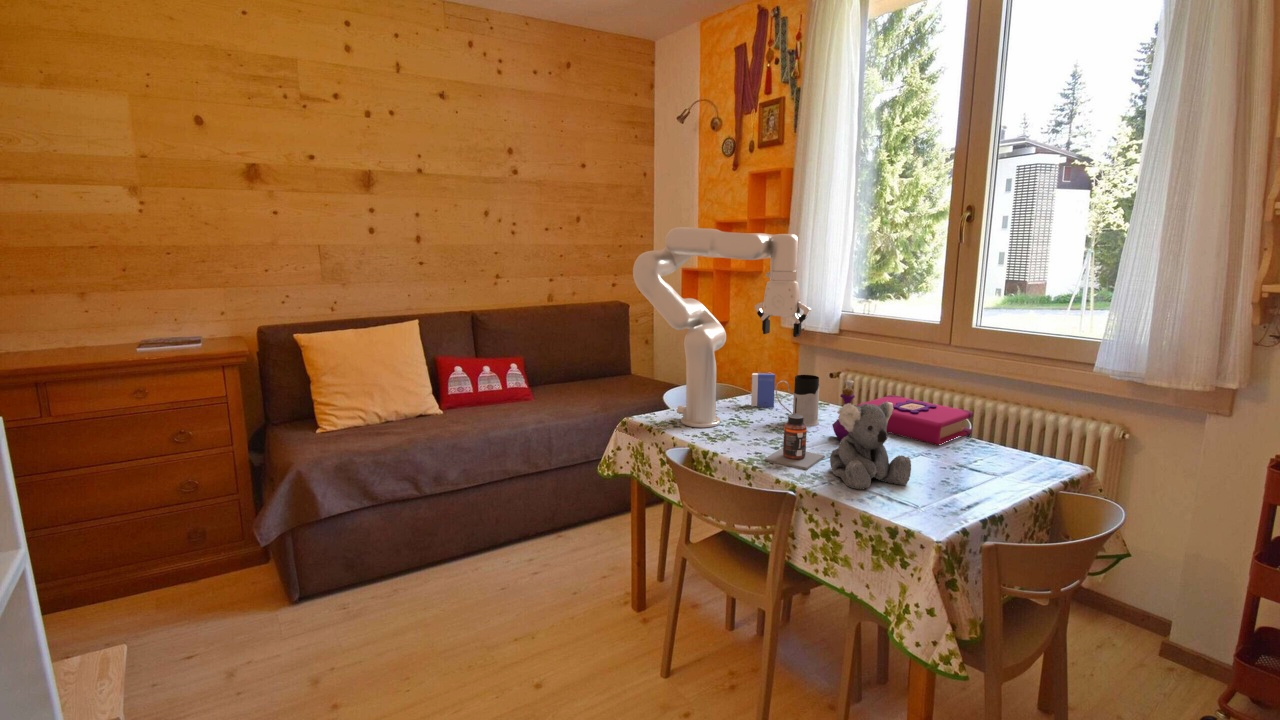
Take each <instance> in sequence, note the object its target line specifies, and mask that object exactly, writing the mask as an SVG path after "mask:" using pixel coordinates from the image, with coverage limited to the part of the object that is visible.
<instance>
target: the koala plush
mask: <svg viewBox="0 0 1280 720" xmlns="http://www.w3.org/2000/svg"><path fill="white" fill-rule="evenodd" d="M893 409H894V408H893V403H890V402H888V401H887V402H883V403H882V404H881V405H879V406H876V405H873V404H869V405H868V404H863V405H860V406H857V404H853V403H852V402H851V403H850V404H849V403H848V404H846V405H844V404H843V405H842V407H839V409H838V411H837V412H836V413H837V414H838V417H837V420H839V422H841V423H840V424H841V425H843V426H844V427H845V429H846V430H847V431H848V433H849V434H848V435H847V436H846V437H844V438H843V439H842V440H841V441H840V443H839V445H838V448H835V449H833V450H832V451H831V454H830V456H829V463H830V464H829V465H830V469H831V472H832V473H833V476H836V477H839V478H841V481H842V482H843V483H844V484H845V486H848V487H850V488H852V489H855V488H856V489H855V490H864V489H863V488H866V489H868V488H869V487H871V484H872V483H871V482H872V479H875V478H876V479H875V480H877V479H878V480H879V481H880V480H882V481H881V482H885V481H886V482H885V483H887V482H888V484H893V483H894V485H896V484H901V485H902V486H904V485H907V484H908V482H909V481H910V478H911V473H912V460H911V459H910V457H909V456H905V455H897V456H895V457H894V458H893V459H892V460H891V461H890V460H889V455H888V451H887V449H886V447H885V445H884V444H885V442H886V441H887V439H888V432H886V431H887V430H886V429H887V424H888V420H889V418H890V416H891V414H892V411H893ZM889 461H890V462H889ZM873 477H874V478H873ZM901 485H900V486H901ZM860 488H861V489H860Z"/></svg>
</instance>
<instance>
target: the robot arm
mask: <svg viewBox="0 0 1280 720" xmlns="http://www.w3.org/2000/svg"><path fill="white" fill-rule="evenodd" d="M664 240H665V241H664V244H665V246H664V247H663V248H662V249H659V250H658V249H657V250H656V249H655V250H648V251H645V252H642V253H641V254H639V255H638V256H637V258H636V260H635V261H634V263H633V268H632V275H633V281H634V284H635V286H636V288H637V289H638V290H639V292H640V293H641V294H642V295H643V296H644V297H645V298H646V300H647V301H649V303H650V304H651V305H652V306H653V308H654V309H655V310H656V311H657V312H658V314H660V316H661V317H662V318H663V319H664V320H665V322H667V324H668V325H669V326H670V327H671V328H672V329H675V330H678V331H681V330H685V329H687V330H688V331H687V332H686V334H685V336H684V341H683V342H684V343H683V347H684V353H685V354H684V355H685V361H686V362H685V365H686V366H685V367H686V368H685V369H686V371H685V374H686V381H685V382H686V386H685V388H686V389H685V390H686V392H685V396H686V397H685V399H686V400H685V402H686V403H685V404H686V405H685V406H682V405H678V406H677V409H676V413H677V414H682V417H681V419H680V421H681V424H683V425H684V426H688V427H692V428H712V427H716V426H719V425H720V424H721V418H720V417H719V416H717V411H716V409H717V361H716V356H715V355H716V354H715V352H716V351H718V350H720V349H722V347H723V346H725V343H726V341H727V333H726V330H725V328H724V326H723V325H722V324H721V322H720V321H719V320H718V319H717V318H716V317H715V315H713V314H712V313H711V312H710V310H709V309H708V308H707V307H706V306H705V305H704V304H703V303H702V302H700V301H699V300H698V299H695V298H691V297H687V298H683V297H682V296H680V294H679V293H678V292H677V291H676V290H675V289H674V287H672V285H670V284H669V283H668V282H666V281H665V280H664V279H663V278H662V277H667V276H669V275H671V274H673V273H674V272H676V271H677V270H678V269H679V268H680V267H681V266H682V265H684V264H685V263H686V262H687V261H688V260H689V259H691V257H694V256H695V257H704V258H715V259H717V258H724V259H734V260H745V261H747V260H749V261H755V260H765V259H770V271H768V272H766V274H765V276H766V277H767V278H769V281H767V282H766V285H765V291H764V296H763V297H764V298H763V300H762V301H761V302H759V303H756V304H755V305H754V309H755V310H756V312H757V315H758V317H759V318H760V320H761V321H762V324H761V330H762V334H763V335H766V334H770V332H771V320H770V318H771V317H772V316H774V317H786V318H788V317H791V318H792V319H793V321H794V322H795V323H793V334H792V335H793V338H797V337H800V335H801V333H802V323H803V322H804V321H805V320H806V319H807V318H808V316H809V314H810V312H811V311H812V308H811V307H809V306H807V305H806V304H804V303H802V302H801V291H800V284H799V282H798V281H797V269H798V253H799V252H798V250H799V248H798V247H799V239H798V236H797V235H796V234H793V233H777V234H776V233H775V234H769V233H764V232H763V233H761V232H758V233H757V232H754V233H751V232H750V233H746V232H745V233H744V232H732V231H731V232H730V231H722V230H719V229H716V228H703V227H702V228H701V227H688V226H687V227H685V226H683V227H681V226H680V227H679V226H678V227H674V228H672V229H670V230H668V232H667V234H666V235H665V239H664ZM762 308H763V309H762ZM801 310H802V311H803V313H802V315H800V313H801Z"/></svg>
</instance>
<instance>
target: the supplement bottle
mask: <svg viewBox="0 0 1280 720" xmlns="http://www.w3.org/2000/svg"><path fill="white" fill-rule="evenodd" d="M787 418H788V419H787V422H786V423H784V426H783V445H782V446H783V447H782V448H783V455H784V456H785V457H786V458H789V459H803V458H804V457H805V454H806V452H807V434H808V433H807V431H808V427H807V426H806V425H805V424H804V423H803V421H804V417H803V416H801V415H792V414H789V415H788V416H787Z"/></svg>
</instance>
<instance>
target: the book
mask: <svg viewBox="0 0 1280 720" xmlns="http://www.w3.org/2000/svg"><path fill="white" fill-rule="evenodd" d="M887 401H888V402H890V403H893V408H894V409H893V411H892V414H891V416H890V418H889V420H888V424H887V429H886V430H887V431H886V432H887V433H888V432H889V434H892V433H893V434H892V435H896V436H900V437H903V436H904V437H903V438H907V437H908V439H911V438H912V439H911V440H915V439H916V441H919V440H920V441H919V442H923V441H924V443H927V442H928V443H927V444H931V443H932V444H931V445H935V444H936V446H940V445H939V444H942V443H944V442H946V441H949V440H951V439H954V438H956V437H958V436H962V437H965V436H968V435H972V433H973V432H972V431H973V429H972V428H968V427H964V425H963V421H964V420H965V421H966V420H967V419H971V418H973V417H974V411H971V410H968V409H967V410H966V409H960V408H956V407H951V406H947V405H941V404H937V403H932V402H927V401H921V400H918V399H917V400H916V399H912V398H911V399H910V398H908V397H904V396H901V395H894V394H888V395H885V396H883V397H879V398H875V399H872V400H871V399H870V400H868V401H865V402H862V403H861V402H860V403H857V404H856V406H860V405H863V404H868V405H869V404H873V405H876V406H879V405H881V404H882V403H883V402H887ZM962 437H961V438H962ZM942 445H943V444H942Z"/></svg>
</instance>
